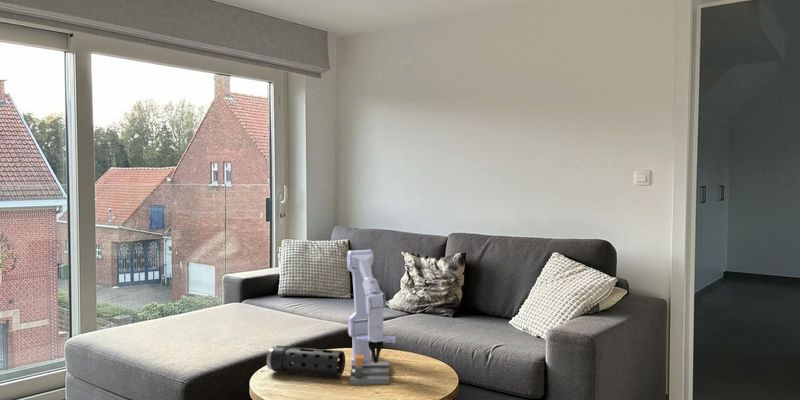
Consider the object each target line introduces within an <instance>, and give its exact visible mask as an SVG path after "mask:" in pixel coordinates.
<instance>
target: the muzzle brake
mask: <svg viewBox="0 0 800 400" xmlns="http://www.w3.org/2000/svg"><path fill="white" fill-rule="evenodd" d="M266 366H267V368H268V369H269V370H272V371H273V372H274V373H277V372H278V373H285V374H286V375H291V376H292V375H293V376H295V375H296V374H302V375H303V374H305V375H309V376H310V377H311V376H316V377H321V378H323V377H324V378H337V379H340V378H341V377H342V375H343V374H344V371H345V367H346V355H345V351H344V350H337V349H335V350H333V349H321V348H320V349H319V348H305V347H290V346H287V345H276V346H272V347H270V348H269V350H268V352H267V355H266Z"/></svg>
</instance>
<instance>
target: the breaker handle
mask: <svg viewBox="0 0 800 400" xmlns="http://www.w3.org/2000/svg"><path fill="white" fill-rule="evenodd" d="M354 362H356V365H362V369H363V354H355V361H354Z"/></svg>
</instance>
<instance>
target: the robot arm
mask: <svg viewBox="0 0 800 400" xmlns="http://www.w3.org/2000/svg"><path fill="white" fill-rule="evenodd" d="M373 263H374V252H373V250H372V249H356V250H348V251H347V253H346V266H347V271H349V272H351V276H352V286H353V287H352V288H353V302H354V303H353V304H354V306H353V307H354V312H353V314H351V315H350V316H349V317H348V322H347V323H348V324H347V333H348V335H349V337H351V338H352V339H351V340H352V341H351V342H352V346H351V347H352V349H351V350H352V353H351V359H350V362H356V361H355V354H363V361H372V358H373V361H374V363H378V361H379V356H380V353H381V351H382V348H383V346H384V343H387V344H389V343H392V344H396V336H390V335H389V336H388V335H384V309H385V307H386V296H385V293H384V292H383V291H382V290H381V289H380V286H379V282H378V280H377V279H376V278H375V277H374V276H373V270H372V266H373Z"/></svg>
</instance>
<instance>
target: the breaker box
mask: <svg viewBox="0 0 800 400" xmlns="http://www.w3.org/2000/svg"><path fill="white" fill-rule="evenodd" d="M349 385H350V386H356V385H357V386H359V385H360V386H361V385H363V386H364V385H365V386H366V385H368V386H369V385H371V386H372V385H390V361H389V360H382V361H381V360H378V363H374V360H371V361H363V369H362V365H356V361H351V369H350V377H349Z"/></svg>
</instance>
